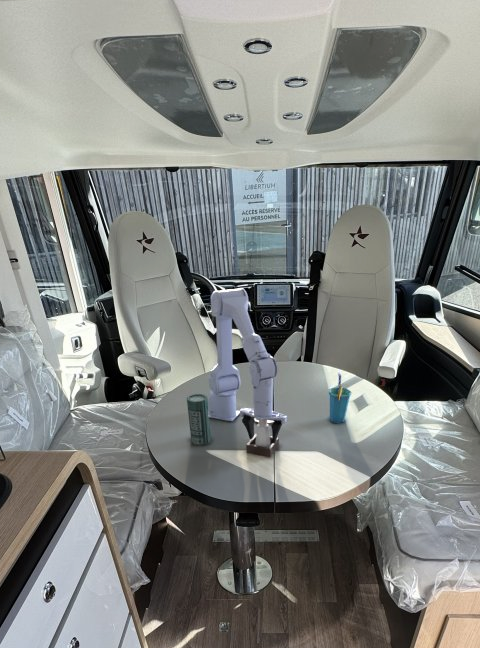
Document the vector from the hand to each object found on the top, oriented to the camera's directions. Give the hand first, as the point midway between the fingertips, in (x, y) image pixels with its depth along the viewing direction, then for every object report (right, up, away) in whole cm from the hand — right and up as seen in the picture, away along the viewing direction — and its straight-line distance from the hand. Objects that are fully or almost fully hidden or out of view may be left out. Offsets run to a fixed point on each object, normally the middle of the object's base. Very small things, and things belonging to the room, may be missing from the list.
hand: (262, 439), depth 138 cm
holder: (0, -3, +2) cm, 3 cm away
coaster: (+1, +10, +20) cm, 22 cm away
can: (-20, 0, +7) cm, 21 cm away
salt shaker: (0, -3, +2) cm, 4 cm away
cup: (+27, +10, +20) cm, 35 cm away
